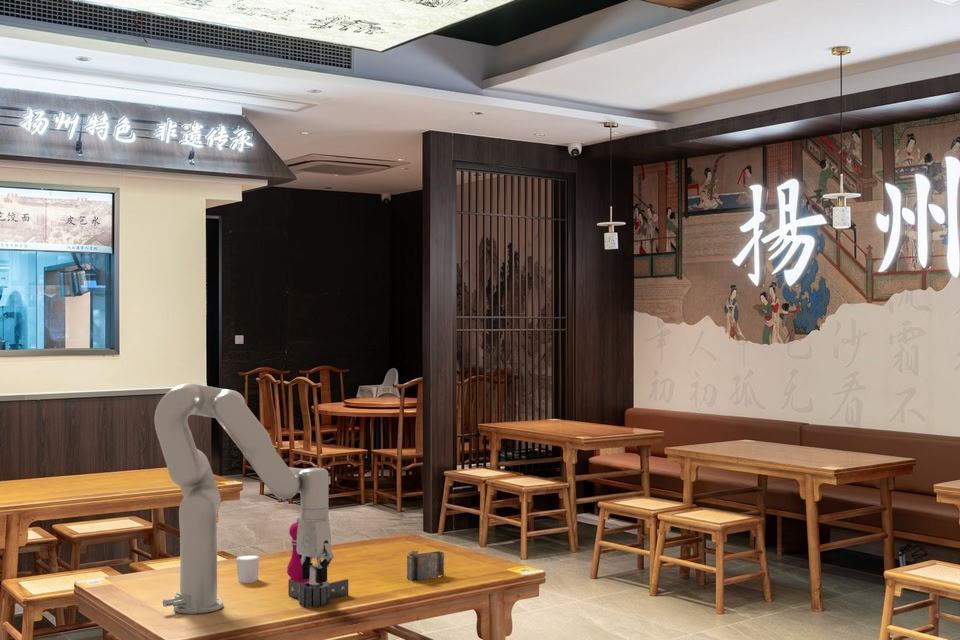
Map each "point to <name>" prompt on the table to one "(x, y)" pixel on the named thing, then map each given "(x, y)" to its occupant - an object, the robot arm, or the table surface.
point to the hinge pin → (313, 576)
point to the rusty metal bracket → (425, 565)
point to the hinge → (317, 592)
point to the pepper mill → (295, 557)
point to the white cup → (248, 568)
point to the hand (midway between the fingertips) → (314, 579)
